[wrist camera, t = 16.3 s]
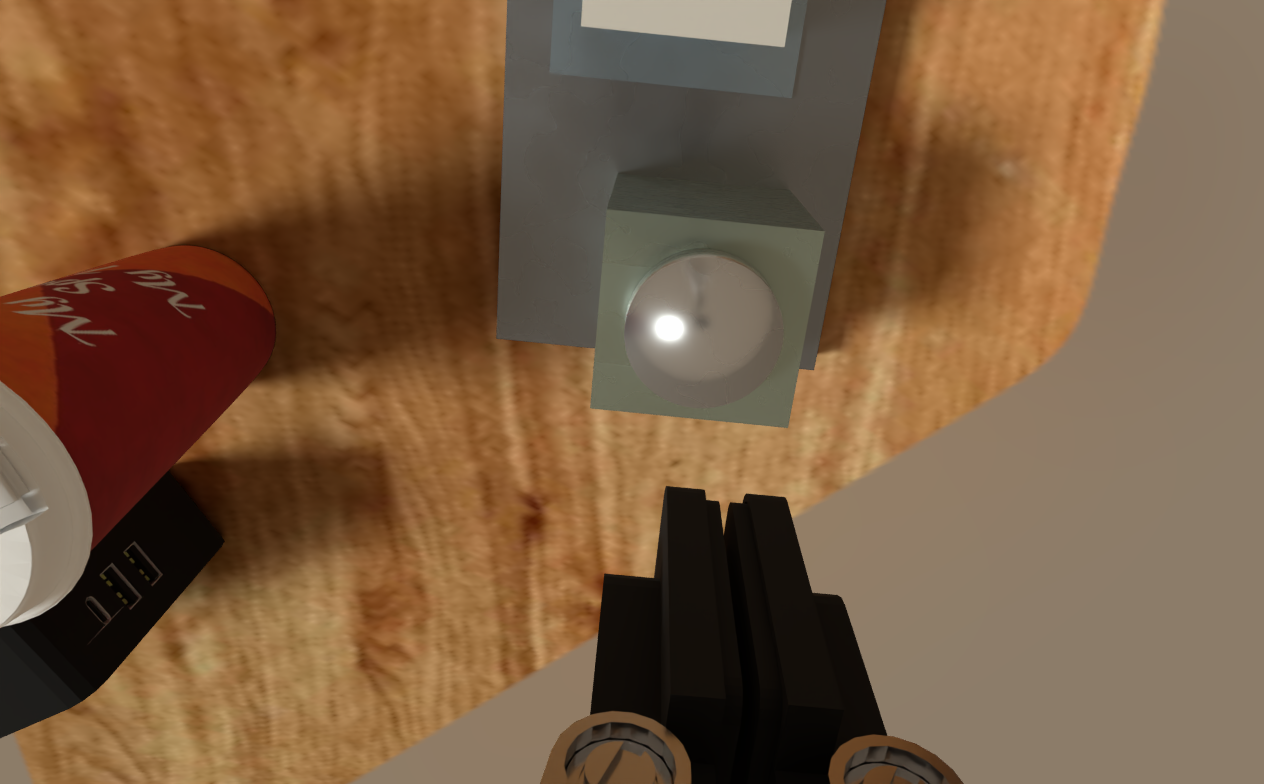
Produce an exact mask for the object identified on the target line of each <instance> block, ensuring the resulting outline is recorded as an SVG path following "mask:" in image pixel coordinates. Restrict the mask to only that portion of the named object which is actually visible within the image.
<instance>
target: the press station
mask: <svg viewBox="0 0 1264 784" xmlns="http://www.w3.org/2000/svg"><path fill="white" fill-rule="evenodd" d="M582 1H583V0H507V27H506V58H505V89H504V120H503V151H502V181H501V212H500V243H499V274H498V305H497V336H496V338H497V339H507V340H517V341H527V342H537V343H547V344H557V345H567V346H577V347H587V348H595V357H594V369H593V381H592V393H591V405H590V408H593V409H603V410H613V411H623V412H633V413H643V414H653V415H663V416H673V417H683V418H693V419H704V420H714V421H724V422H734V423H744V424H754V425H764V426H774V427H784V428H788V425H789V419H790V414H791V409H792V403H793V398H794V393H795V387H796V382H797V377H798V371H799V369H806V370H814V367H815V362H816V357H817V352H818V347H819V342H820V337H821V331H822V326H823V321H824V316H825V311H826V306H827V301H828V296H829V291H830V286H831V280H832V275H833V270H834V265H835V260H836V255H837V250H838V245H839V240H840V234H841V229H842V224H843V219H844V214H845V209H846V204H847V199H848V194H849V189H850V183H851V178H852V173H853V168H854V163H855V158H856V153H857V148H858V143H859V138H860V132H861V127H862V122H863V117H864V112H865V107H866V102H867V97H868V92H869V87H870V81H871V76H872V71H873V66H874V61H875V56H876V51H877V46H878V41H879V36H880V30H881V25H882V20H883V15H884V10H885V5H886V0H792V2H791V9H790V15H789V22H788V28H787V34H786V41H785V47H777V46H766V45H755V44H745V43H736V42H726V41H716V40H706V39H697V38H687V37H677V36H668V35H658V34H648V33H639V32H629V31H619V30H609V29H600V28H591V27H583V26H581V17H582ZM694 249H714V250H720V251H724V252H728V253H731V254H734V255H736V256H738V257H740V258H742V259H744V260H745V261H747V262H748V263H750V264H751V265H752V266H754V267H755V268H756V269H757V270H758V271H759V272H760V273H761V274H762V275H763V276H764V278H765V279H766V281H767V282H768V284H769V285H770V287H771V289H772V291H773V293H774V295H775V298H776V300H777V302H778V304H779V307H780V310H781V314H782V319H783V327H784V336H783V344H782V348H781V352H780V355H779V358H778V360H777V363H776V365H775V366H774V368H773V370H772V372H771V373H770V374H769V376H768V377H767V378H766V380H765V381H764V382H763V383H762V384H761V385H760V386H759V387H758V388H756V389H755V390H754V391H753V392H751V393H750V394H748V395H747V396H745V397H743V398H742V399H739V400H737V401H735V402H733V403H730V404H727V405H724V406H719V407H714V408H691V407H685V406H681V405H678V404H674V403H672V402H669V401H667V400H665V399H663V398H661V397H660V396H658V395H656V394H655V393H654V392H653V391H651V390H650V389H649V388H648V387H647V386H646V385H645V384H644V383H643V382H642V381H641V380H640V379H639V377H638V376H637V375H636V373H635V371H634V370H633V368H632V366H631V364H630V361H629V359H628V356H627V352H626V348H625V341H624V327H625V319H626V312H627V307H628V303H629V300H630V297H631V295H632V293H633V291H634V289H635V287H636V286H637V284H638V283H639V281H640V280H641V279H642V277H643V276H644V275H645V274H646V273H647V272H648V271H649V270H650V269H651V268H652V267H653V266H655V265H656V264H658V263H659V262H660V261H662V260H664V259H666V258H668V257H670V256H671V255H674V254H677V253H680V252H683V251H688V250H694Z"/></svg>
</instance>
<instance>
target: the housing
mask: <svg viewBox="0 0 1264 784" xmlns="http://www.w3.org/2000/svg"><path fill="white" fill-rule="evenodd" d="M791 2H792V0H583V1H582V17H581V26H583V27H591V28H600V29H609V30H619V31H629V32H639V33H648V34H658V35H668V36H677V37H687V38H697V39H706V40H716V41H726V42H736V43H745V44H755V45H766V46H777V47H785V41H786V34H787V28H788V22H789V15H790V9H791Z"/></svg>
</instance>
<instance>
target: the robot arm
mask: <svg viewBox="0 0 1264 784" xmlns="http://www.w3.org/2000/svg"><path fill="white" fill-rule="evenodd" d="M591 703H592V704H591V712H590V716H587V717H585V718H583V719H581V720H578V721H576V722H574V723H573V724H572V725H571V726H570V727H568V728H567V729H566V730H565V731H564V732H563V733H562V734H560V736H559V738H558V740H557V741H556V743H555V745H554V747H553V748H552V750H551V753H550V756H549V759H548V762H547V765H546V768H545V770H544V773H543V776H542V779H541V782H540V784H964V783H963V782H962V781H961V779H960V778H959V777H958V775H957V774H956V773H955V772H954V770H953V769H952V768H950V767H949V766H948V765H947V764H946V763H945V762H943V761H942V760H941V759H940V758H939V757H938V756H936V755H935V754H933V753H931V752H930V751H928V750H926V749H924V748H922V747H921V746H919V745H917V744H915V743H912V742H909V741H906V740H903V739H900V738H896V737H893V736H887V733H886V730H885V727H884V724H883V721H882V718H881V715H880V711H879V708H878V705H877V702H876V699H875V696H874V693H873V690H872V687H871V684H870V681H869V678H868V675H867V671H866V668H865V665H864V662H863V659H862V656H861V653H860V650H859V647H858V644H857V641H856V637H855V634H854V631H853V628H852V625H851V622H850V619H849V616H848V613H847V610H846V607H845V604H844V602H843V600H842V598H841V597H840V596H838V595H830V594H820V593H812V590H811V586H810V583H809V579H808V575H807V572H806V568H805V564H804V561H803V557H802V553H801V550H800V546H799V543H798V539H797V535H796V532H795V528H794V524H793V521H792V517H791V513H790V510H789V506H788V502H787V500H786V498H785V497H777V496H767V495H756V494H746V495H745V496H744V499H743V503H732V502H730V504H729V507H728V512H727V519H726V525H725V531H724V535H723V527H722V519H721V511H720V504H719V501H710V500H706V495H705V490H702V489H691V488H680V487H670V486H666V488H665V493H664V500H663V509H662V517H661V525H660V533H659V542H658V550H657V558H656V566H655V575H654V578H646V577H635V576H624V575H613V574H604V583H603V593H602V602H601V612H600V622H599V632H598V643H597V653H596V662H595V672H594V682H593V692H592V702H591Z"/></svg>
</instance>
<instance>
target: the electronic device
mask: <svg viewBox="0 0 1264 784" xmlns="http://www.w3.org/2000/svg"><path fill="white" fill-rule="evenodd" d="M224 542H225V541H224V540H223V538H222V537H221V536H220V535H219V533H218V532H217V531H216V530H215V528H214V527H213V526H212V525H211V523H210V522H209V521H208V520H207V518H206V517H205V516H204V515H203V513H202V512H201V511H200V510H199V508H198V507H197V506H196V505H195V503H194V502H193V501H192V500H191V498H190V497H189V496H188V495H187V493H186V492H185V491H184V490H183V488H182V487H181V486H180V485H179V483H178V482H177V481H176V480H175V478H174V477H173V476H172V475H171V474H170V472H169V471H167V472H166V473H165V474H164V475H163V476H162V477H161V478H160V479H159V481H158V482H157V483H156V484H155V485H154V486H153V487H152V488H151V489H150V490H149V491H148V492H147V493H146V494H145V495H144V496H143V497H142V498H141V499H140V500H139V501H138V502H137V503H136V504H135V505H134V507H133V508H132V509H131V510H130V511H129V512H128V513H127V514H126V515H125V516H124V517H123V518H122V519H121V520H120V521H119V522H118V523H117V524H116V525H115V526H114V527H113V528H112V529H111V530H110V531H109V533H108V534H107V535H106V536H105V537H104V538H103V539H102V540H101V541H100V542H99V543H98V544H97V545H96V546H95V547H94V548H93V549H92V550H91V551H90V556H89V559H88V561H87V564H86V566H85V569H84V572H83V574H82V576H81V577H80V579H79V580H78V581H77V583H76V584H75V586H74V587H73V589H72V590H71V591H70V592H69V593H68V594H67V595H66V596H65V597H64V598H63V599H62V600H61V601H60V602H59V603H58V604H57V605H55V606H53V607H52V608H50V609H49V610H47V611H45V612H44V613H42V614H41V615H38V616H36V617H33V618H31V619H28V620H26V621H23V622H21V623H16V624H13V625H8V626H4V627H1V628H0V738H2V737H4V736H7V735H9V734H11V733H14V732H16V731H18V730H21V729H23V728H25V727H28V726H30V725H32V724H35V723H37V722H39V721H42V720H44V719H46V718H49V717H51V716H53V715H56V714H58V713H60V712H63V711H65V710H67V709H69V708H71V707H73V706H75V705H77V704H78V703H80V702H82V701H83V700H85V699H86V698H87V697H89V696H90V695H91V694H92V693H94V692H95V691H96V690H97V689H98V688H99V687H100V686H101V685H102V684H104V683H105V682H106V681H107V680H108V678H109V677H110V676H111V675H112V674H113V673H114V671H115V670H116V669H117V668H118V667H119V666H120V664H121V663H122V662H123V661H124V660H125V659H126V657H127V656H128V655H129V654H130V653H131V652H132V650H133V649H134V648H135V647H136V646H137V645H138V643H139V642H140V641H141V640H142V639H143V638H144V636H145V635H146V634H147V633H148V632H149V631H150V629H151V628H152V627H153V626H154V625H155V624H156V622H157V621H158V620H159V619H160V618H161V617H162V615H163V614H164V613H165V612H166V611H167V610H168V608H169V607H170V606H171V605H172V604H173V603H174V601H175V600H176V599H177V598H178V597H179V596H180V594H181V593H182V592H183V591H184V590H185V589H186V587H187V586H188V585H189V584H190V583H191V582H192V580H193V579H194V578H195V577H196V576H197V575H198V573H199V572H200V571H201V570H202V569H203V568H204V566H205V565H206V564H207V563H208V562H209V561H210V559H211V558H212V557H213V556H214V555H215V554H216V552H217V551H218V550H219V549H220V548H221V547H222V545H223V543H224Z"/></svg>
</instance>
